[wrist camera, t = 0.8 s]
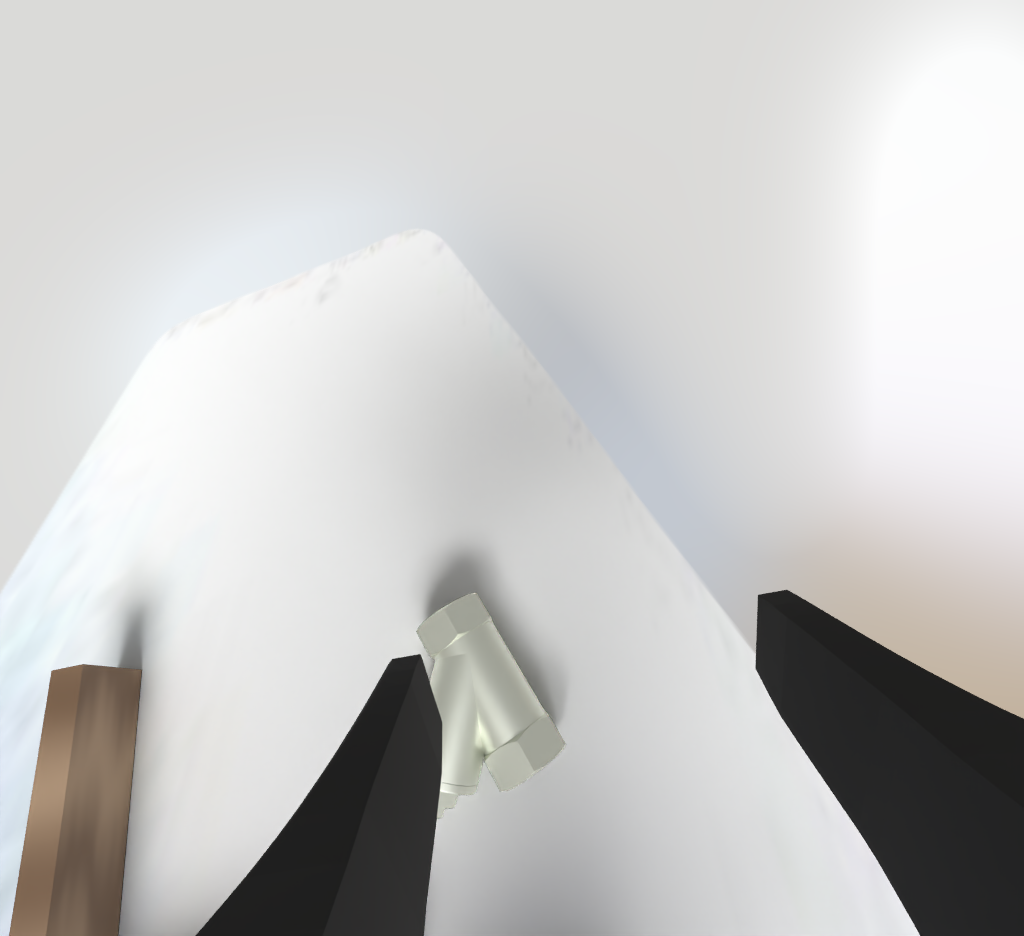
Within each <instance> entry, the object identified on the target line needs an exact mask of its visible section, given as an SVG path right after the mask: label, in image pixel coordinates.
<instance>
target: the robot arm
mask: <svg viewBox="0 0 1024 936" xmlns="http://www.w3.org/2000/svg"><path fill="white" fill-rule="evenodd" d="M757 615H758V616H757V642H756V670H757V672H758V674H759V676H760V678H761V680H762V682H763V684H764V686H765V688H766V690H767V691H768V693H769V695H770V697H771V699H772V701H773V703H774V705H775V706H776V708H777V710H778V712H779V714H780V716H781V717H782V719H783V720H784V722H785V723H786V725H787V726H788V728H789V729H790V731H791V732H792V734H793V735H794V737H795V738H796V740H797V741H798V743H799V744H800V746H801V747H802V749H803V750H804V751H805V753H806V754H807V756H808V757H809V759H810V760H811V762H812V763H813V765H814V766H815V768H816V769H817V771H818V772H819V773H820V775H821V776H822V778H823V779H824V781H825V782H826V784H827V785H828V787H829V788H830V790H831V791H832V792H833V794H834V795H835V797H836V798H837V800H838V801H839V803H840V804H841V806H842V807H843V809H844V810H845V811H846V813H847V814H848V816H849V817H850V819H851V820H852V822H853V823H854V825H855V826H856V828H857V829H858V830H859V832H860V834H861V835H862V837H863V838H864V840H865V841H866V843H867V845H868V846H869V848H870V849H871V851H872V852H873V854H874V856H875V857H876V859H877V860H878V862H879V864H880V866H881V867H882V869H883V871H884V873H885V874H886V876H887V878H888V880H889V881H890V883H891V885H892V887H893V888H894V890H895V892H896V894H897V895H898V897H899V899H900V901H901V902H902V904H903V906H904V907H905V909H906V911H907V913H908V914H909V916H910V918H911V920H912V921H913V923H914V925H915V927H916V929H917V930H918V932H919V934H920V936H1024V719H1023V718H1021V717H1019V716H1016V715H1014V714H1012V713H1010V712H1008V711H1006V710H1003V709H1001V708H999V707H997V706H995V705H993V704H991V703H989V702H987V701H985V700H983V699H981V698H979V697H977V696H975V695H973V694H971V693H969V692H967V691H965V690H963V689H961V688H959V687H957V686H955V685H954V684H952V683H949V682H948V681H946V680H944V679H942V678H940V677H938V676H936V675H934V674H933V673H931V672H929V671H927V670H925V669H923V668H921V667H920V666H918V665H916V664H914V663H912V662H910V661H909V660H907V659H905V658H903V657H901V656H900V655H898V654H896V653H894V652H892V651H891V650H889V649H887V648H885V647H884V646H882V645H880V644H879V643H877V642H875V641H873V640H872V639H870V638H868V637H866V636H865V635H863V634H861V633H860V632H858V631H856V630H855V629H853V628H851V627H849V626H848V625H846V624H844V623H843V622H841V621H839V620H838V619H836V618H834V617H833V616H831V615H829V614H828V613H826V612H824V611H823V610H821V609H819V608H818V607H816V606H814V605H812V604H811V603H809V602H807V601H806V600H804V599H802V598H801V597H799V596H797V595H795V594H793V593H792V592H790V591H788V590H784V591H778V592H772V593H766V594H761V595H758V612H757ZM441 777H442V720H441V716H440V713H439V710H438V707H437V704H436V701H435V698H434V695H433V691H432V688H431V685H430V682H429V679H428V676H427V673H426V669H425V666H424V663H423V660H422V657H421V654H419V655H413V656H407V657H402V658H396V659H392V660H391V662H390V663H389V664H388V666H387V668H386V670H385V671H384V673H383V675H382V677H381V678H380V680H379V682H378V684H377V685H376V687H375V689H374V691H373V692H372V694H371V696H370V697H369V699H368V701H367V703H366V704H365V706H364V708H363V709H362V711H361V713H360V714H359V716H358V718H357V719H356V721H355V723H354V724H353V726H352V728H351V729H350V731H349V732H348V734H347V736H346V737H345V739H344V740H343V742H342V744H341V745H340V747H339V748H338V750H337V752H336V753H335V755H334V756H333V758H332V759H331V761H330V762H329V764H328V765H327V767H326V768H325V770H324V771H323V773H322V774H321V776H320V777H319V779H318V780H317V782H316V783H315V785H314V786H313V788H312V789H311V790H310V792H309V793H308V795H307V796H306V798H305V799H304V801H303V802H302V804H301V805H300V806H299V808H298V809H297V811H296V812H295V813H294V815H293V816H292V817H291V819H290V820H289V822H288V823H287V824H286V826H285V827H284V828H283V830H282V831H281V832H280V834H279V835H278V836H277V838H276V839H275V840H274V842H273V843H272V844H271V845H270V847H269V848H268V849H267V851H266V852H265V853H264V854H263V856H262V857H261V858H260V860H259V861H258V862H257V863H256V865H255V866H254V867H253V868H252V870H251V871H250V872H249V873H248V874H247V876H246V877H245V878H244V879H243V880H242V882H241V883H240V884H239V885H238V886H237V888H236V889H235V890H234V891H233V893H232V894H231V895H230V896H229V897H228V899H227V900H226V901H225V902H224V903H223V904H222V906H221V907H220V908H219V909H218V910H217V911H216V913H215V914H214V915H213V916H212V917H211V918H210V920H209V921H208V922H207V923H206V924H205V925H204V927H203V928H202V929H201V930H200V931H199V932H198V933H197V935H196V936H424V926H425V914H426V903H427V895H428V886H429V878H430V870H431V862H432V853H433V845H434V837H435V829H436V820H437V812H438V803H439V795H440V786H441Z"/></svg>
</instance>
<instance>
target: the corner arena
mask: <svg viewBox="0 0 1024 936" xmlns="http://www.w3.org/2000/svg"><path fill="white" fill-rule="evenodd" d="M141 673H142V670H138V669H128V668H117V667H107V666H96V665H85V664H82V665H77V666H72V667H67V668H63V669H58V670H53V671H52V672H51V678H50V684H49V691H48V697H47V703H46V709H45V715H44V722H43V728H42V734H41V740H40V747H39V753H38V759H37V765H36V771H35V778H34V784H33V790H32V796H31V803H30V809H29V815H28V821H27V827H26V834H25V840H24V846H23V852H22V859H21V865H20V871H19V877H18V884H17V890H16V896H15V902H14V908H13V915H12V921H11V927H10V933H9V936H118V930H119V918H120V907H121V896H122V885H123V874H124V863H125V851H126V840H127V829H128V818H129V807H130V796H131V785H132V773H133V762H134V751H135V740H136V729H137V718H138V706H139V695H140V684H141Z"/></svg>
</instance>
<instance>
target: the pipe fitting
mask: <svg viewBox="0 0 1024 936" xmlns="http://www.w3.org/2000/svg"><path fill="white" fill-rule="evenodd" d="M416 632H417V634H418V636H419V638H420V640H421V641H422V643H423V645H424V647H425V649H426V651H427V653H428V655H429V656H430V657H431V658H432V659H435V664H434V668H433V672H432V675H431V679H430V685H431V688H432V691H433V695H434V698H435V701H436V704H437V707H438V710H439V713H440V716H441V720H442V777H441V786H440V795H439V803H438V812H437V819H440V818H442V817H443V814H444V810H445V809H451V808H454V807H455V805H456V801H457V797H458V795H473V794H475V793H476V791H477V787H478V783H479V778H480V773H481V769H482V764H483V760H484V761H485V763H486V765H487V767H488V769H489V771H490V773H491V775H492V777H493V779H494V781H495V782H496V784H497V786H498V788H499V790H500V792H505V791H508V790H511V789H513V788H514V787H516V786H518V785H520V784H521V783H523V782H524V781H526V780H527V779H529V778H530V777H532V776H533V775H535V774H536V773H537V772H539V771H540V770H541V769H542V768H544V767H545V766H546V765H547V764H549V763H550V762H551V761H552V760H553V759H554V758H555V757H556V756H557V755H558V754H559V753H560V752H561V751H562V750H563V749H564V747H565V746H566V744H565V742H564V740H563V739H562V737H561V735H560V733H559V732H558V730H557V728H556V727H555V725H554V723H553V722H552V720H551V718H550V716H549V715H548V713H547V712H546V711H544V709H543V707H542V705H541V704H540V702H539V700H538V699H537V697H536V695H535V694H534V692H533V690H532V688H531V687H530V685H529V683H528V682H527V680H526V678H525V677H524V675H523V673H522V671H521V670H520V668H519V666H518V665H517V663H516V661H515V660H514V658H513V656H512V654H511V653H510V651H509V649H508V648H507V646H506V644H505V643H504V641H503V639H502V637H501V636H500V634H499V632H498V631H497V629H496V627H495V626H494V624H493V620H492V618H491V616H490V615H489V613H488V611H487V610H486V608H485V606H484V604H483V603H482V601H481V599H480V598H479V596H478V594H477V593H471V594H468V595H465V596H463V597H461V598H459V599H457V600H455V601H453V602H451V603H450V604H448V605H446V606H445V607H443V608H441V609H440V610H438V611H437V612H435V613H434V614H433V615H431V616H430V617H429V618H427V619H426V620H425V621H424V622H423V623H422V624H421V625H420V626H419V627H418V629H417V631H416Z"/></svg>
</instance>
